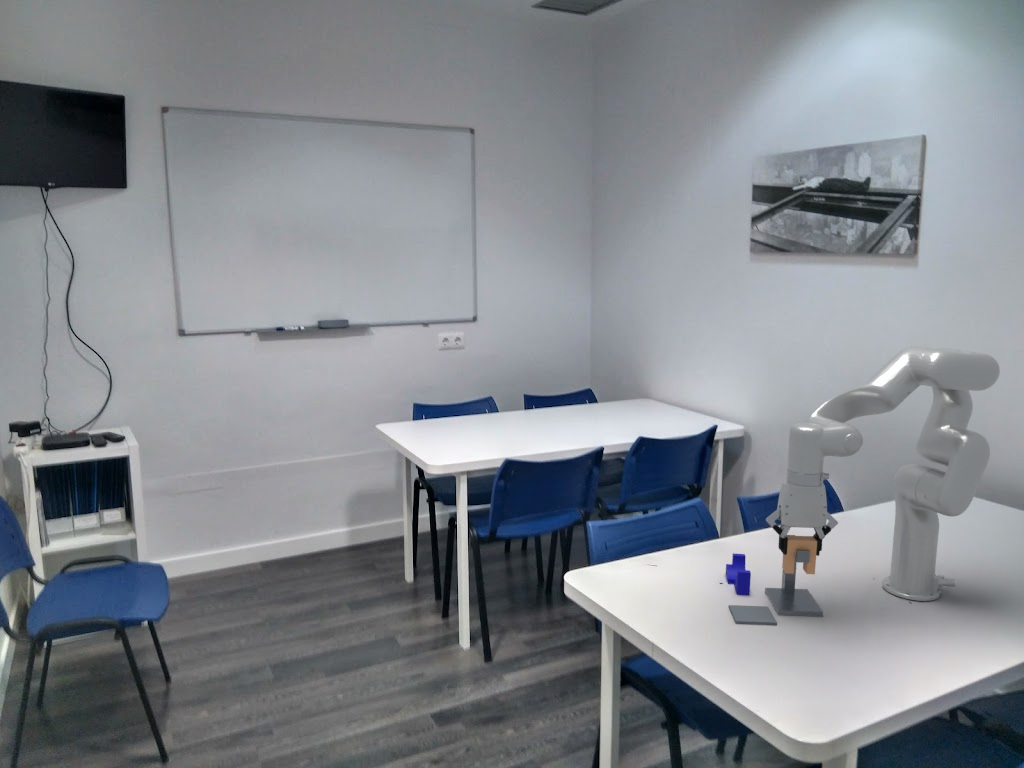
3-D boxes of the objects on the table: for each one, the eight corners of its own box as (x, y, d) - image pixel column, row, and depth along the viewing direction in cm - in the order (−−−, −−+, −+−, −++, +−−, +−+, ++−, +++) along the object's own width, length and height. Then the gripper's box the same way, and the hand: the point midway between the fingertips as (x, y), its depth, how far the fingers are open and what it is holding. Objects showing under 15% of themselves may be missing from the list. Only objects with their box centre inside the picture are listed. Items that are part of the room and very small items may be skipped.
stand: (806, 593, 184) (811, 533, 182) (822, 616, 172) (827, 552, 170) (764, 592, 185) (768, 532, 182) (777, 615, 173) (781, 551, 171)
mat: (767, 608, 176) (768, 606, 176) (776, 625, 168) (777, 622, 168) (728, 607, 177) (728, 605, 177) (735, 623, 169) (735, 621, 169)
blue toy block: (725, 575, 196) (726, 553, 195) (743, 576, 195) (744, 554, 194) (730, 595, 184) (731, 571, 183) (749, 596, 183) (750, 573, 182)
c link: (810, 569, 176) (813, 536, 175) (814, 574, 173) (817, 541, 172) (782, 568, 176) (784, 535, 175) (785, 573, 174) (787, 540, 172)
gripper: (838, 474, 174) (832, 548, 177) (761, 472, 175) (757, 545, 178) (849, 483, 167) (844, 560, 170) (769, 481, 168) (765, 558, 171)
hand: (799, 552), depth 174 cm, fingers closed on c link, 6 cm apart
